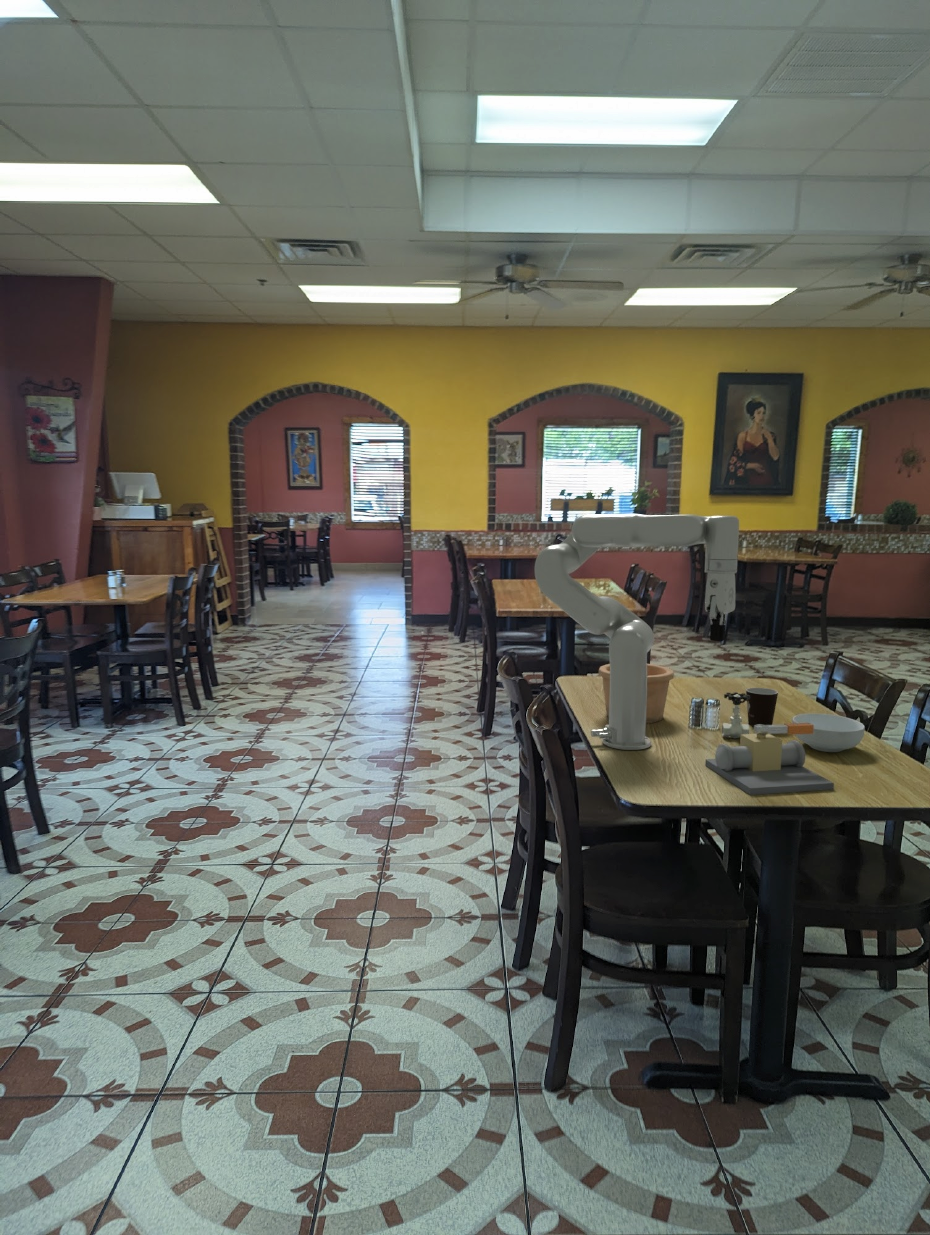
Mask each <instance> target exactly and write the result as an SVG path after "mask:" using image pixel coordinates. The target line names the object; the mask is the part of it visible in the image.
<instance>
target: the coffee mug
mask: <svg viewBox="0 0 930 1235" xmlns="http://www.w3.org/2000/svg"><path fill="white" fill-rule="evenodd" d="M745 694H746V695H750V699H748V701H746V707H747V708H746V709H747V711H746V712H747V721H748V722H747V724H748V725H749V727H750V726H751V727H753V728H754V725H757V724H761V725H773V722H774V717H775V712H776V706H777V700H778V695H779V691H778V690H776V689H774V688H773V689H771V688H768V687H767V688H765V687H748V688H746V689H745Z"/></svg>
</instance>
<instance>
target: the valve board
mask: <svg viewBox="0 0 930 1235" xmlns="http://www.w3.org/2000/svg"><path fill="white" fill-rule="evenodd" d="M739 739H740V741H739V743H740V744H739V745H737V746H730V745H728V744H727V743H721V744H720V743H719V744H718V746H717V747H716V750H715V753H714V754H715V756H714V758H708V759H707V758H706V759H705V762H704V765H705V766H706V767H707V768H709V769H710V770H712V771H713V772H714V773H717V775H719V776H721V777H723V778H724V779H725V780H727V781H728V782H729V783H731V784H733V785H734V786H736V787H737V788H739V789H740V790H742V791H743V792H745V793H746V794H748V795H749V796H753V795H754V796H755V795H768V794H772V795H773V794H781V793H782V794H783V793H785V794H786V793H797V792H799V793H800V792H813V791H830V790H834V787H835V782H833V781H831V780H830V779H828V778H826V777H823V776H822V775H820V774H818V773H817V772H814V771H812V770H810V769H809V768H807V767H805V766H804V764H805V762H806V750H805V748H804V746H803V744H802V743H801V741H800V740H797V739H796V740H792V739H791V740H789V741H788V742H787V743H783V740H782V739H781V738H778V737H776V736H774V735H773V734H766V735H761V734H756V733H749V734H741V737H740V738H739Z"/></svg>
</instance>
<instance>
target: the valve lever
mask: <svg viewBox="0 0 930 1235" xmlns="http://www.w3.org/2000/svg"><path fill="white" fill-rule="evenodd" d="M813 728H814V725H812V724H810V723H791V722H789V723H788V722H787V723H783V724H772V725H761V724H757V725H754V727H753V734H761V735H766V734H771V735H773V734H787V735H795V734H813Z"/></svg>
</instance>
